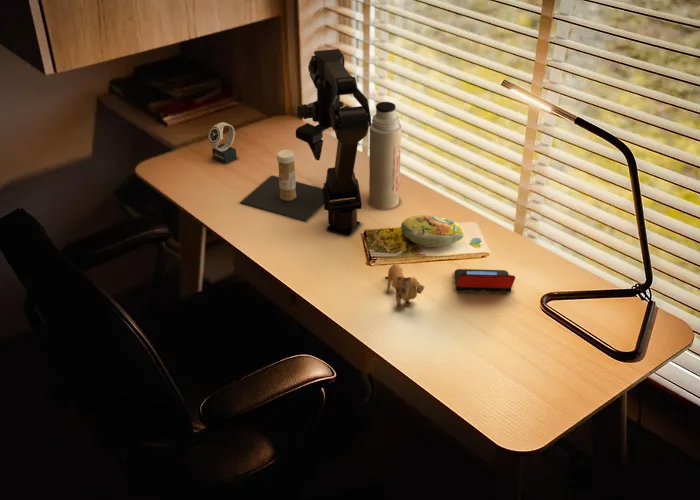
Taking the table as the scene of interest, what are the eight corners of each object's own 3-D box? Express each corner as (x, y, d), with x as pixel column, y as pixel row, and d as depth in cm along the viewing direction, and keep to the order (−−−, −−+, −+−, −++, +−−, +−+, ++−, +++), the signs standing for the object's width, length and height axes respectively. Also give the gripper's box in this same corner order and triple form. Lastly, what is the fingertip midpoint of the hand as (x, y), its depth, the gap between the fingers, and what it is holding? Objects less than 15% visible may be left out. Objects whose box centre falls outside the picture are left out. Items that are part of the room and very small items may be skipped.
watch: (207, 160, 231) (203, 126, 225) (228, 150, 236) (225, 117, 230) (220, 166, 228) (216, 132, 222) (241, 156, 233) (238, 122, 227)
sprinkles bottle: (276, 197, 213) (273, 153, 205) (288, 190, 216) (285, 147, 208) (288, 203, 211) (285, 158, 203) (300, 196, 214) (298, 152, 206)
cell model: (405, 214, 202) (461, 203, 196) (413, 242, 204) (469, 232, 198) (393, 228, 193) (451, 217, 187) (402, 257, 195) (460, 247, 189)
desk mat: (334, 192, 216) (334, 191, 216) (305, 221, 204) (305, 220, 204) (271, 176, 223) (271, 175, 223) (240, 203, 212) (240, 202, 211)
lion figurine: (425, 313, 174) (427, 280, 169) (404, 319, 172) (405, 287, 167) (394, 276, 185) (395, 245, 179) (374, 282, 183) (374, 251, 178)
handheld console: (507, 273, 185) (511, 247, 181) (512, 302, 177) (516, 276, 172) (453, 272, 186) (456, 246, 182) (456, 300, 177) (458, 274, 173)
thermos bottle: (404, 199, 213) (408, 103, 196) (387, 212, 207) (390, 114, 191) (380, 190, 217) (382, 95, 200) (363, 202, 211) (363, 106, 195)
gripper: (332, 78, 208) (333, 132, 217) (279, 100, 197) (282, 156, 206) (363, 90, 202) (362, 145, 211) (310, 114, 191) (312, 170, 200)
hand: (329, 153), depth 207 cm, fingers open, 9 cm apart
